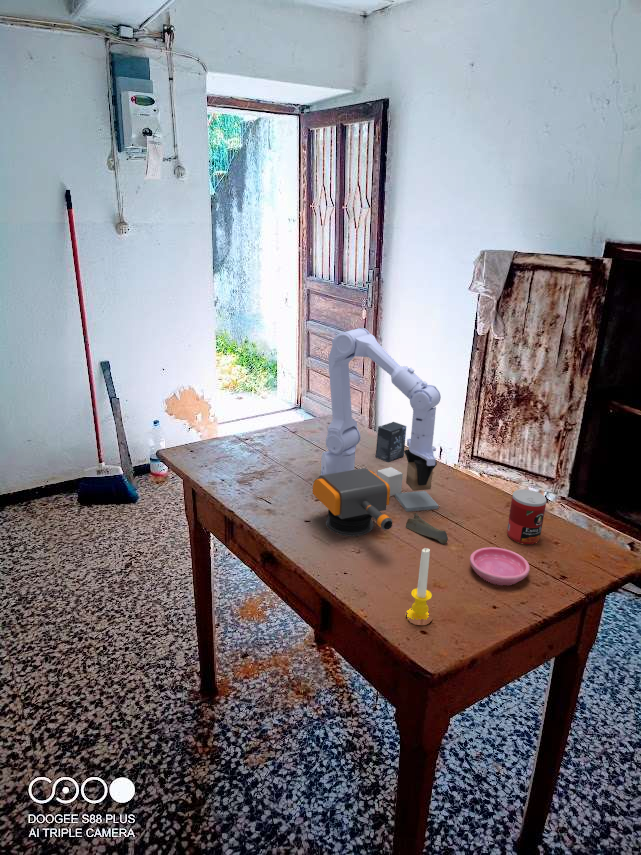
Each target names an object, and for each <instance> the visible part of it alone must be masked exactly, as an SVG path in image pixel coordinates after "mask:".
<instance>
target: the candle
mask: <svg viewBox="0 0 641 855" xmlns="http://www.w3.org/2000/svg"><path fill="white" fill-rule="evenodd" d="M420 554H421V555H420V562H419V570H418V577H417V578H418V581H417V587H415V588H413V589H412V591H411V592H410V594H411V597H413V599H414V602H413V603H412V604H411V608H409V610H408V609H407V610H406V612H407V613H408V614H407V617H409V618H411V619H413V620H414V618H415V619H416V620H418V619H420V620H421V619H424V620H425V619H426V620H427V618H428V617H429V616H428V615H429V613H428V611H429V610H430V609H429V605H428V602H427V601H429V600H431V599H432V596H433V594H432V592H431V591H430V590H428V589H427V588H428V577H429V576H428V575H429V565H430V554H431V549H430V548H427V547H424V548H422V549H421V553H420ZM411 609H412V610H411ZM412 617H413V618H412ZM409 618H408V619H409ZM417 618H418V619H417Z"/></svg>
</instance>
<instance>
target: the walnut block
mask: <svg viewBox="0 0 641 855" xmlns="http://www.w3.org/2000/svg"><path fill="white" fill-rule="evenodd" d="M406 467H407V468H406V480H405V483H406V485H407V486H408V487H409V488H410V489H411V490H412V492H416V491H426V490H431V489H432V481H433V480H432V478H433V472H434V469H433V470H432V472H431V474H430V476H429V479H428V482H427V484H426V485H418V480H417V468H416V465H415V462H408V461H407V466H406Z"/></svg>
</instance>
